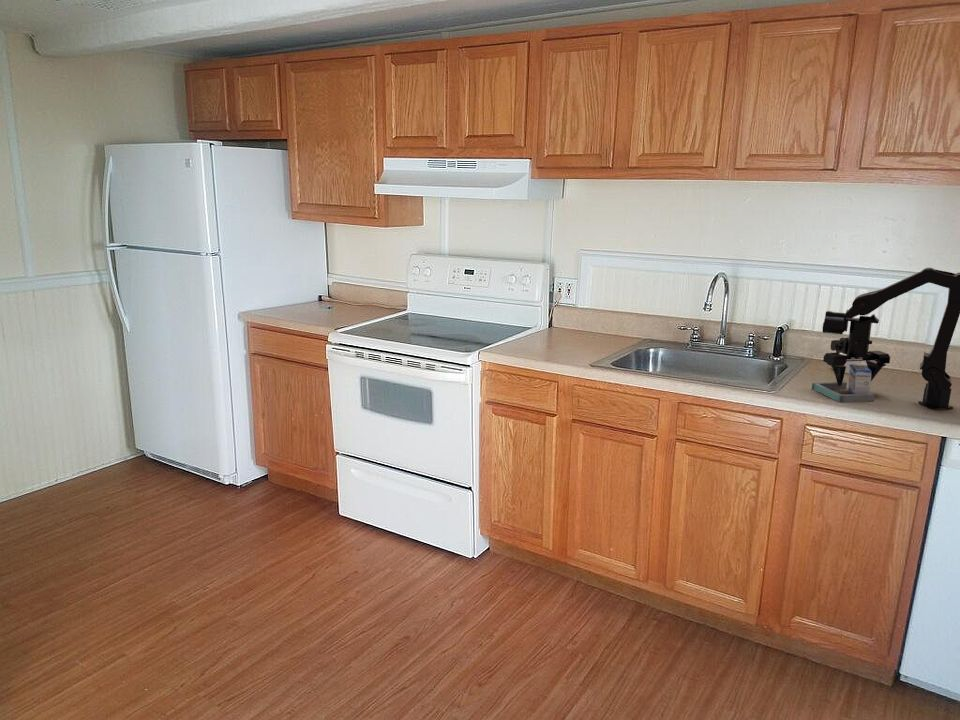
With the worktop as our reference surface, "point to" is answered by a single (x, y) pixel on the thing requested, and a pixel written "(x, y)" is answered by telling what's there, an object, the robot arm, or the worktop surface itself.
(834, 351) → the medicine bottle
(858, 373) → the medicine box
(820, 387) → the frame
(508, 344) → the worktop surface
